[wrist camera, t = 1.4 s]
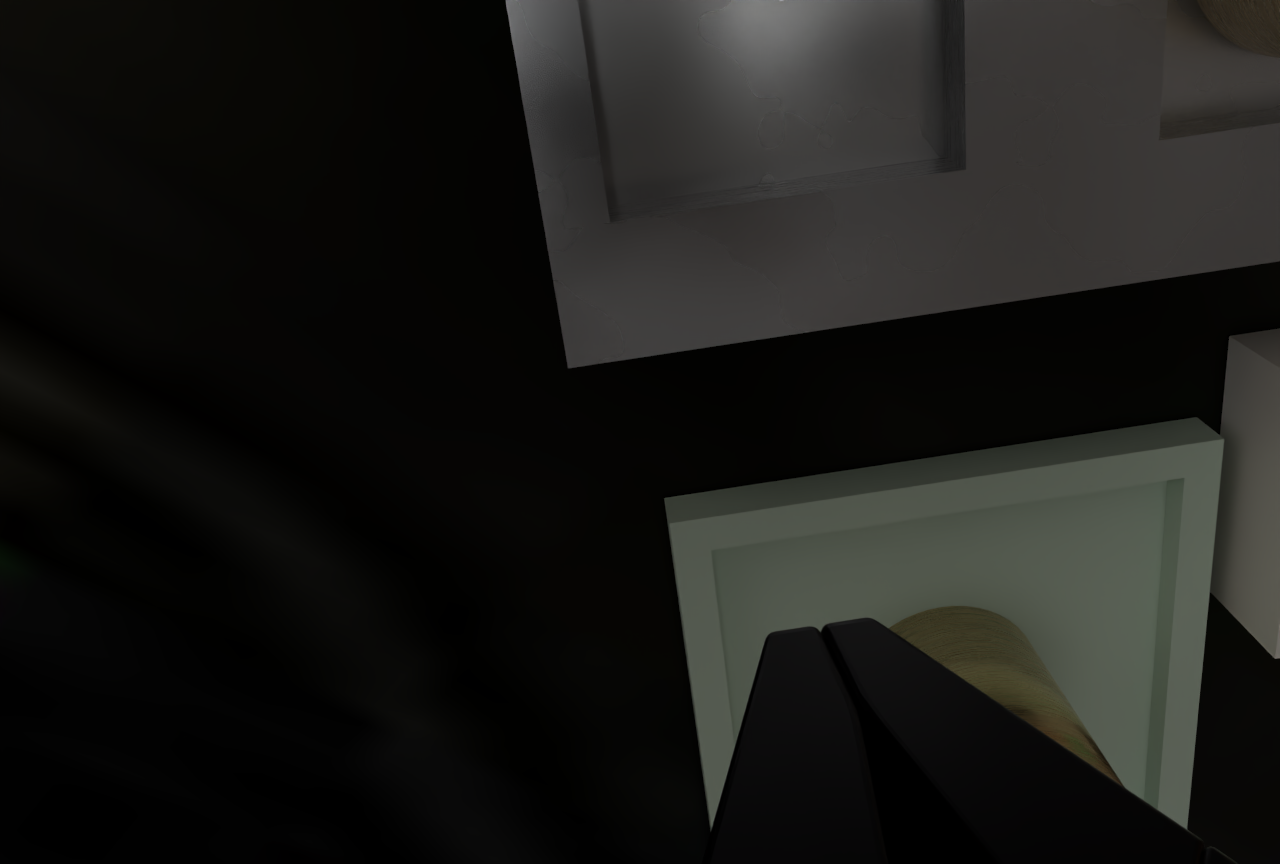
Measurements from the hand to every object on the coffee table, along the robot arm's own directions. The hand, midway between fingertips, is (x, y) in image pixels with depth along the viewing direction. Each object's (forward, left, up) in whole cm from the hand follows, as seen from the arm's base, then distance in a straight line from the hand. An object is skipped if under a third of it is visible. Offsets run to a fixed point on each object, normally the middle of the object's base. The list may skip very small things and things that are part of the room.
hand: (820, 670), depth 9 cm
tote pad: (-10, -5, -12) cm, 16 cm away
